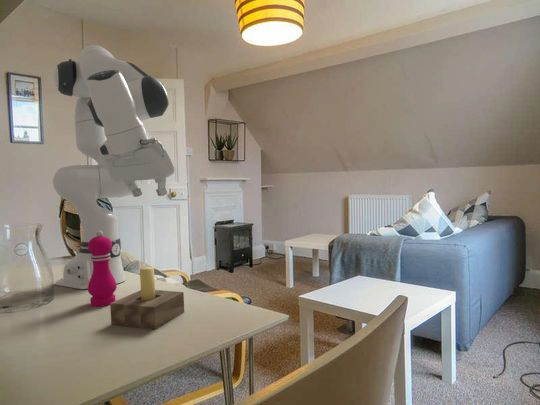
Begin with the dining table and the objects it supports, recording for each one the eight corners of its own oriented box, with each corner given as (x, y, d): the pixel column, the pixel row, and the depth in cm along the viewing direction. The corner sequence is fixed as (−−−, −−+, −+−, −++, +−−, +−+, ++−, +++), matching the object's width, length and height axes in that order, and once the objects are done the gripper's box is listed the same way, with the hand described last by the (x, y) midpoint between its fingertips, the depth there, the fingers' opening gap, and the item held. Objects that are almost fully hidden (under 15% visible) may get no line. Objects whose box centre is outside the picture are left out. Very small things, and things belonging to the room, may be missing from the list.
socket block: (111, 324, 90) (110, 303, 90) (143, 308, 101) (143, 289, 101) (155, 329, 86) (154, 307, 86) (184, 311, 97) (183, 292, 97)
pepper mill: (88, 301, 108) (84, 230, 107) (115, 297, 112) (112, 228, 111) (89, 309, 102) (85, 233, 101) (118, 304, 105) (114, 230, 104)
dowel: (139, 319, 93) (136, 269, 92) (147, 315, 96) (145, 266, 95) (150, 320, 92) (148, 270, 91) (159, 316, 95) (156, 267, 94)
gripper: (168, 133, 88) (188, 189, 93) (114, 141, 100) (134, 191, 104) (147, 141, 83) (169, 200, 88) (93, 150, 95) (115, 201, 100)
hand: (150, 195), depth 96 cm, fingers open, 8 cm apart
